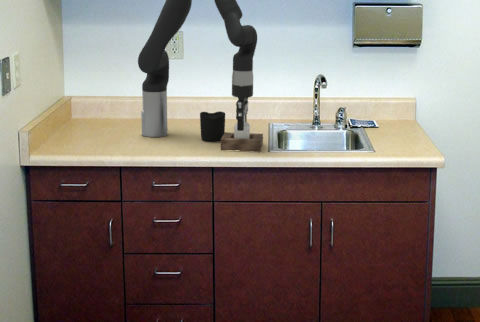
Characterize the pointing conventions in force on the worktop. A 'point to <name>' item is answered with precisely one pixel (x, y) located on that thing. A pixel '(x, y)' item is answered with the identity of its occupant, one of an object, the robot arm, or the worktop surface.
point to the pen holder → (212, 126)
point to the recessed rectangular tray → (242, 142)
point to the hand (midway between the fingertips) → (241, 127)
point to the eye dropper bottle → (242, 134)
